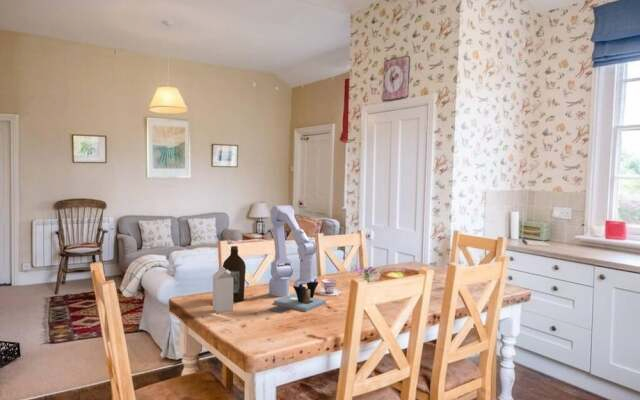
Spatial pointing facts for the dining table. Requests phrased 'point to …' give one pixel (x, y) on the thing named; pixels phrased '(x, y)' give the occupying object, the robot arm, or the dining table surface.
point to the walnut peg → (306, 296)
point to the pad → (279, 309)
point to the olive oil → (236, 273)
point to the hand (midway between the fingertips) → (305, 299)
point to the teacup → (329, 287)
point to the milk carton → (222, 291)
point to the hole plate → (299, 303)
